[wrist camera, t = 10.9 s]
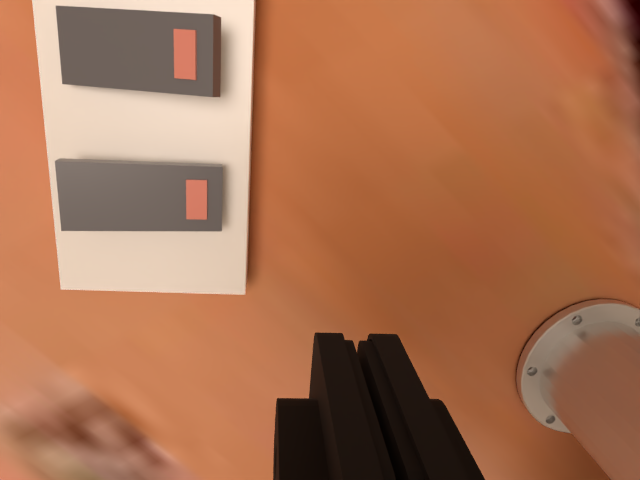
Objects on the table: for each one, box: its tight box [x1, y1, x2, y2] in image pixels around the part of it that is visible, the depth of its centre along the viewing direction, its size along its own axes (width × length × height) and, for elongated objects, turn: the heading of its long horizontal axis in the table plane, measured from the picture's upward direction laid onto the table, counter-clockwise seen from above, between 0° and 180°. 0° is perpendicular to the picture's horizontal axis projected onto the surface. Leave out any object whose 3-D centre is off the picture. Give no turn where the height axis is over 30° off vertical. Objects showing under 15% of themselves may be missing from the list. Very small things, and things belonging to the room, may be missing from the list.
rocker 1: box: [56, 6, 221, 97], centre depth 26 cm, size 9×4×1 cm, turn 86°
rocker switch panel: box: [32, 0, 256, 295], centre depth 29 cm, size 12×30×4 cm, turn 175°
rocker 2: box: [55, 158, 223, 231], centre depth 28 cm, size 9×4×1 cm, turn 85°
